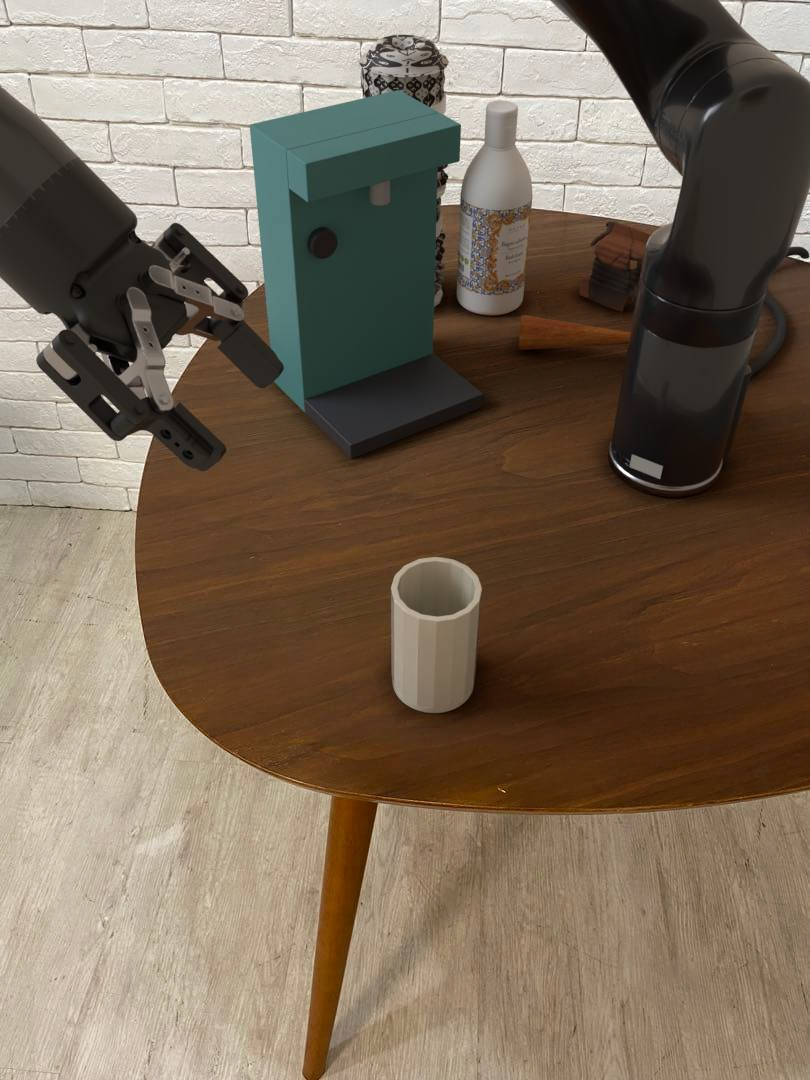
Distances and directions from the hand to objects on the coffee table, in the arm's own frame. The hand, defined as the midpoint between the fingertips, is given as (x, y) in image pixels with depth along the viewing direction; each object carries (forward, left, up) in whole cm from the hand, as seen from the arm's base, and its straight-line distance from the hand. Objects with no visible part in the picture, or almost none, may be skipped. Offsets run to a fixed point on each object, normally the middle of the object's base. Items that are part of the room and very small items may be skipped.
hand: (246, 418), depth 61 cm
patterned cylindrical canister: (-35, -36, -20) cm, 54 cm away
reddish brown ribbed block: (-55, -23, -20) cm, 62 cm away
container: (-8, +9, -20) cm, 23 cm away
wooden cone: (-46, -14, -20) cm, 52 cm away
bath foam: (-42, -30, -20) cm, 55 cm away
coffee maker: (-23, -23, -20) cm, 38 cm away
